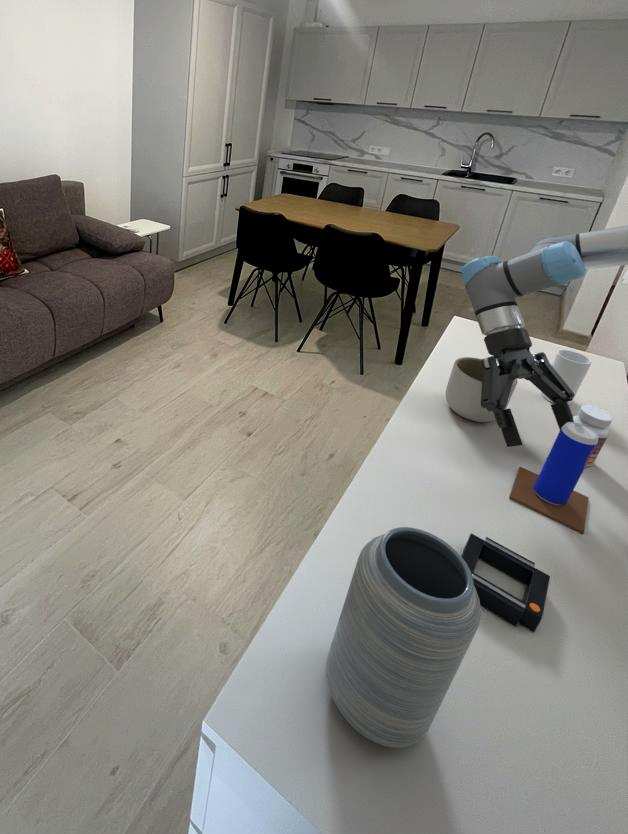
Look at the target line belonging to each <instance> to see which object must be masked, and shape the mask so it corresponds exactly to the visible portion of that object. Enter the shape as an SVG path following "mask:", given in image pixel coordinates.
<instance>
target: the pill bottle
mask: <svg viewBox="0 0 628 834" xmlns="http://www.w3.org/2000/svg"><path fill="white" fill-rule="evenodd" d="M613 420H614V419H613V416H612V414H610V413H609V412H608V411H607V410H604V409H603V408H601V407H598V406H594V405H590V404H583V405H581V406H580V407H579V410H578V412H577V415H573V421H574V422H575V423H579V424H582V425H585V426H587V427H589V428H591V429H592V430H594V431H595V432H596V433H597V434H598V444H597V446H596V447H595V449H594V451H593V453H592V455H591V457H590V459H589V461H588V463H587V465H586V467H592V466H593V465H594V464H595V462H596V460H597V458H598V456H599V455H600V453H601V451H602V449H603V447H604V445H605V443H606V441H607V440H608V438H609V435H610V429H609V427H610V426H611V423H612V421H613ZM586 467H585V468H586Z"/></svg>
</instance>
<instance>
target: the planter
mask: <svg viewBox="0 0 628 834" xmlns="http://www.w3.org/2000/svg"><path fill="white" fill-rule="evenodd" d="M481 359H482V358H479V357H472V356H471V357H470V356H465V357H464V356H463V357H459V358H457V359H455V361H454V363H453V365H452V368H451V371H450V375H449V378H448V380H447V384H446V389H445V399H446V402H447V404H448V406H449V408H450V409H451V410H452V411H453V412H454V413H455V414H457V415H459V416H460V417H462V418H464V419H466V420H469V421H472V422H477V423H491V422H494V421H496V419H495V416H494V413H493V411H488V410H487V409H486V408H482V407H481V391H482V375H483V369H482V365H481ZM498 371H499V369H498ZM517 386H518V379H515V380H514V381H513V383H512V387H511V390H510V394H509V397H508V400H507V404H506V407H505V409H507V407H508V405H509V404H510V401H511V399H512V396H513V393H514V391H515V389H516V387H517ZM488 401H489V399H488Z"/></svg>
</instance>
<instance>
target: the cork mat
mask: <svg viewBox="0 0 628 834" xmlns="http://www.w3.org/2000/svg"><path fill="white" fill-rule="evenodd" d="M538 476H539V473H538V474H537V473H536V472H534V471H531V470H529V469H526V468H524V467H522V466H519V468H518V470H517V474H516V477H515V479H514V482H513V485H512V489H511V491H510V494H509V497H508V499H510V500H512V501H513V502H516V503H518V504H520V505H522V506H523V507H526V508H528V509H530V510H533V511H534V512H537V513H538V514H540V515H542V516H544V517H547V518H549V519H550V520H552V521H555V522H557V523H558V524H561V525H563V526H565V527H567V528H569V529H570V530H571V529H572V530H573V531H575V532H578V533H579V534H581V535H583V534H584V533H585V526H586V519H587V511H588V505H589V498H590V497H589V496H587V495H585V494H582V493H580V492H578V491H576V490H575V489H574V490H573V492H572V494H571V496H570V497H569V499H568V501H567V503H566V504H564V505H552V504H550V503H547V502H545V501H544V500H542V499H541V498H540V497H538V495H537V494H536V493H535V490H534V484H535V482H536V480H537V478H538Z"/></svg>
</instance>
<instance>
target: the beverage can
mask: <svg viewBox="0 0 628 834" xmlns="http://www.w3.org/2000/svg"><path fill="white" fill-rule="evenodd" d="M597 444H598V434H597V433H596V432H595V431H594V430H592V429H591V428H589V427H587V426H585V425H582V424H579V423H575V422H567V423H566V424H565V425H564V426H562V428H561V430H560V429H559V432H558V434H557V436H556V438H555V440H554V443H553V445H552V446H551V449H550V451H549V453H548V455H547V457H546V459H545V461H544V464H543V465H542V468H541V469H540V472H539V473H538V475H539V476H538V478H537V480H536V482H535V484H534V490H535V493H536V494H537V495H538V497H540V498H541V499H542V500H544V501H545V502H547V503H550V504H552V505H564V504H566V503H567V501H568V499H569V497H570V496H571V494H572V492H573V490H574V491H575V489H576V486H577V484H578V482H579V480H580V478H581V476H582V475H583V472H584V471H585V469H586V465H587V463H588V461H589V459H590V457H591V455H592V453H593V451H594V449H595V447H596V446H597Z"/></svg>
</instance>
